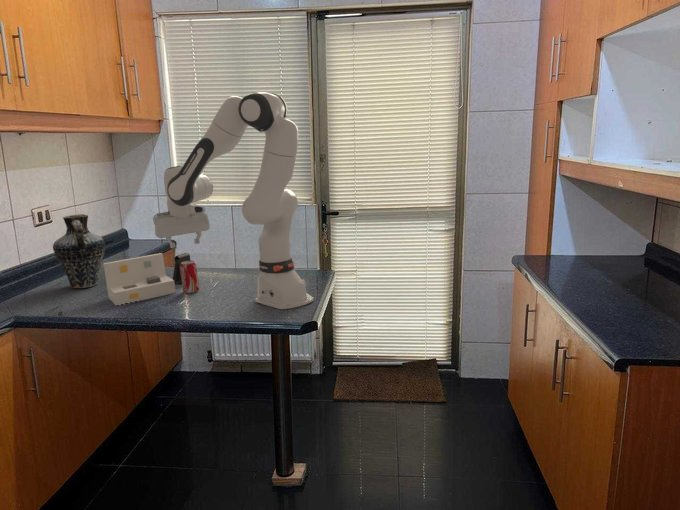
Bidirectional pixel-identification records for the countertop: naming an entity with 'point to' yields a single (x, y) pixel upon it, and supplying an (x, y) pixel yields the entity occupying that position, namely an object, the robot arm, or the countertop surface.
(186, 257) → the dark grey wedge
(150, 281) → the breaker
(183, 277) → the beverage can
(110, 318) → the countertop surface
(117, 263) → the white stepped stand
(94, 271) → the dark grey patterned vase
